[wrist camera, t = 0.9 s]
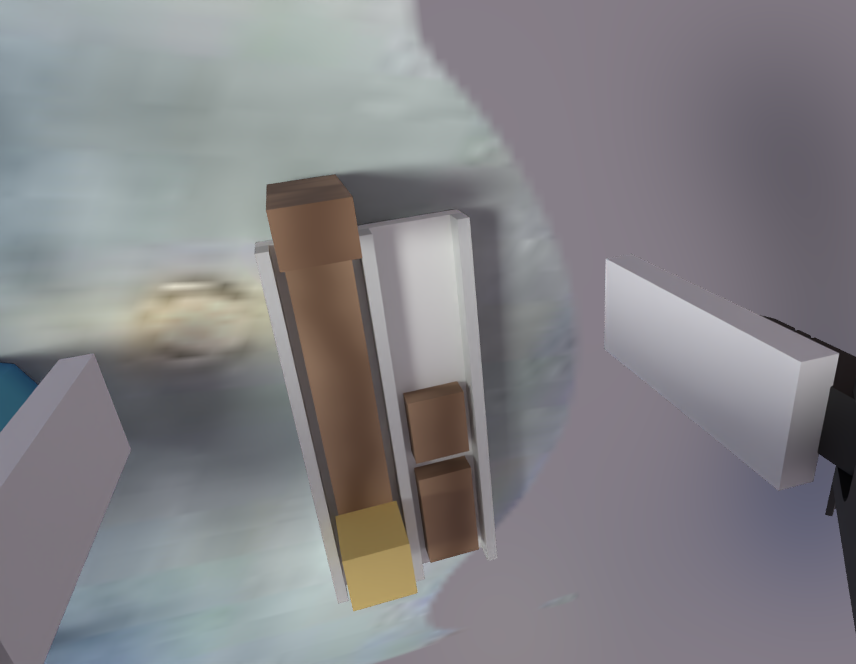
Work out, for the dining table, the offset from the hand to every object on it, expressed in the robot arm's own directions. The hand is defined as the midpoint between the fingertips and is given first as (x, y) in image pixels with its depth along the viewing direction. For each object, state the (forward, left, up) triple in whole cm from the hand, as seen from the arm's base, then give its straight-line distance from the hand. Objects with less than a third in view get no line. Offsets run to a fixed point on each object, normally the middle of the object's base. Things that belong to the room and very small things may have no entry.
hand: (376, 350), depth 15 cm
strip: (-1, -14, -22) cm, 26 cm away
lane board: (+3, -16, -23) cm, 28 cm away
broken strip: (+6, -21, -22) cm, 31 cm away
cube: (-1, -24, -20) cm, 32 cm away
